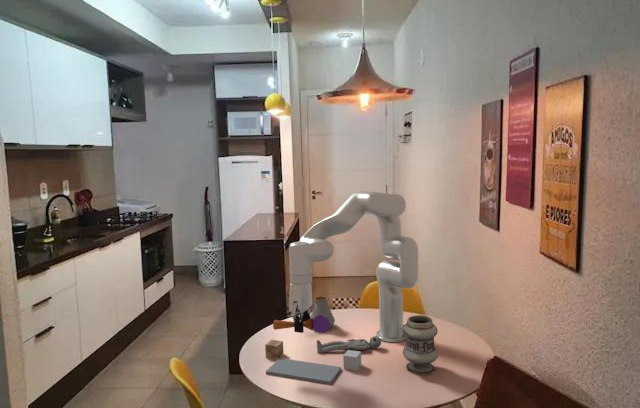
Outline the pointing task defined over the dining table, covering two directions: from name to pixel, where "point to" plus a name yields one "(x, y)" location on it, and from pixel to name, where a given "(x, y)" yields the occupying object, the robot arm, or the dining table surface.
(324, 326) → the kendama
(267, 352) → the walnut block
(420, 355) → the apothecary jar
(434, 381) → the dining table surface
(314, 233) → the robot arm
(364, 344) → the alien figure
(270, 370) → the charcoal mat
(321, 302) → the coffee pot
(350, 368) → the grey block
